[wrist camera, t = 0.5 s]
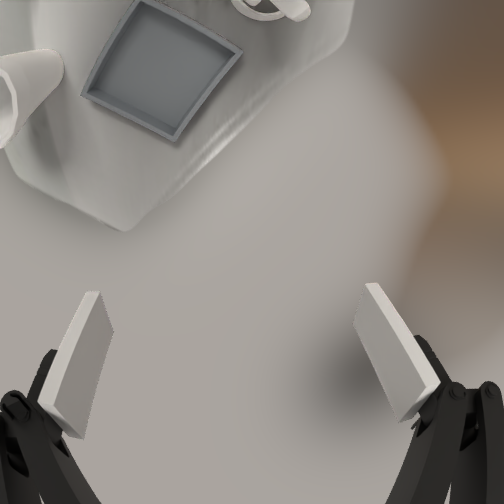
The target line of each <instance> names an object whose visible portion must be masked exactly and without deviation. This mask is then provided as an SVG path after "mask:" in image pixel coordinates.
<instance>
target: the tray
mask: <svg viewBox="0 0 504 504" xmlns="http://www.w3.org/2000/svg"><path fill="white" fill-rule="evenodd" d="M243 53H244V52H243V51H242V49H240V48H239V47H237V46H236V45H234V44H233V43H231V42H230V41H228V40H227V39H225V38H223V37H222V36H220V35H219V34H217V33H215V32H214V31H212V30H210V29H209V28H207V27H205V26H204V25H202V24H200V23H198V22H197V21H195V20H193V19H191V18H189V17H188V16H186V15H184V14H182V13H180V12H178V11H176V10H174V9H172V8H170V7H168V6H166V5H164V4H162V3H160V2H158V1H156V0H134V2H133V3H132V4H131V6H130V7H129V9H128V10H127V12H126V13H125V15H124V16H123V18H122V19H121V21H120V22H119V24H118V25H117V27H116V29H115V30H114V32H113V33H112V35H111V37H110V38H109V40H108V42H107V44H106V45H105V47H104V49H103V51H102V52H101V54H100V56H99V58H98V60H97V62H96V64H95V66H94V67H93V69H92V71H91V73H90V75H89V77H88V79H87V82H86V84H85V86H84V88H83V90H82V92H81V94H80V96H82V97H84V98H86V99H89V100H91V101H93V102H95V103H97V104H99V105H101V106H103V107H106V108H108V109H110V110H112V111H114V112H116V113H118V114H120V115H122V116H124V117H126V118H128V119H130V120H132V121H134V122H136V123H138V124H140V125H142V126H144V127H146V128H148V129H150V130H151V131H153V132H155V133H157V134H159V135H161V136H163V137H165V138H167V139H169V140H170V141H172V142H174V143H175V141H176V140H177V138H178V137H179V135H180V134H181V133H182V131H183V130H184V128H185V127H186V125H187V124H188V123H189V121H190V120H191V118H192V117H193V116H194V114H195V113H196V112H197V110H198V109H199V107H200V106H201V105H202V103H203V102H204V101H205V99H206V98H207V97H208V96H209V94H210V93H211V92H212V90H213V89H214V88H215V87H216V85H217V84H218V83H219V81H220V80H221V79H222V78H223V77H224V75H225V74H226V73H227V72H228V70H229V69H230V68H231V67H232V66H233V64H234V63H235V62H236V61H237V60H238V59H239V57H240V56H241V55H242V54H243Z"/></svg>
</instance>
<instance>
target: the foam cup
mask: <svg viewBox="0 0 504 504" xmlns="http://www.w3.org/2000/svg"><path fill="white" fill-rule="evenodd" d="M63 75H64V63H63V61H62V58H61V56H60V55H59V54H58V53H57V52H55V51H54V50H51V49H39V50H32V51H26V52H20V53H15V54H10V55H5V56H0V149H1V148H3V147H4V146H5V145H6V144H7V143H8V142H9V141H10V140H11V139H12V138H14V137H15V135H16V134H17V133H18V132H19V130H20V129H21V128H22V127H23V125H24V124H25V122H26V120H27V118H28V117H29V116H30V115H31V114H32V113H33V112H34V110H35V109H36V108H37V107H38V106H39V105H40V104H41V103H42V102H43V101H44V100H45V98H46V97H47V96H48V95H49V94H50V93H51V92H52V91H53V90H54V89H55V88H56V87H57V86H58V85H59V84H60V82H61V79H62V77H63Z"/></svg>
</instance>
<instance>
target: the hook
mask: <svg viewBox="0 0 504 504" xmlns="http://www.w3.org/2000/svg"><path fill="white" fill-rule="evenodd" d="M245 1H246V2H247V3H248V4H249V5H252V6H256V5H257V4H258V3H259V2H260V1H262V0H245ZM270 1H271V2H272V3H273V4H274V5H275V6H276V7H277V8H278V9H279V10H280V11H277V12H273V13H262V12H258V11H255V10H253V9H251V8H250V7H248V6H247V5H246V4H245V3H244V2H243V0H231V2H232V3H233V5H234V7H235V8H236V9H237V10H238V11H239V12H240V13H242V14H243V15H245V16H247V17H248V18H251V19H254V20H260V21H271V20H276V19H279V18H282V17H284V16H286V17H288V18H289V19H291V20H293V21H296V22H300V21H303V20H305V19H306V18H308V17H309V16H310V14H311V9H310V6H309V5H308V3H307V2H306V1H305V0H270Z"/></svg>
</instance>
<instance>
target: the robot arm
mask: <svg viewBox="0 0 504 504" xmlns="http://www.w3.org/2000/svg"><path fill="white" fill-rule="evenodd" d="M353 325H354V327H355V329H356V331H357V334H358V335H359V337H360V340H361V342H362V344H363V346H364V348H365V350H366V352H367V354H368V356H369V358H370V361H371V362H372V365H373V367H374V369H375V371H376V374H377V376H378V378H379V380H380V382H381V384H382V387H383V389H384V391H385V393H386V395H387V398H388V400H389V402H390V404H391V407H392V409H393V412H394V414H395V416H396V419H397V421H398V423H399V422H403V421H406V420H409V419H412V418H413V417H414V415H415V414H416V413H417V412H419V414H420V416H421V417H420V418H419V419H418V420H417V421H416V422H415V423H414V424H413V426H412V427H411V429H414V428H415V426H416V429H415V431H414V434H413V437H412V440H411V443H410V446H409V449H408V452H407V455H406V457H405V460H404V462H403V465H402V467H401V470H400V472H399V475H398V477H397V479H396V482H395V484H394V486H393V489H392V491H391V493H390V495H389V497H388V499H387V501H386V503H385V504H444V502H445V499H446V496H447V493H448V490H449V487H450V484H451V492H450V501H449V504H504V406H503V401H502V395H501V391H500V389H499V387H498V386H497V385H496V384H495V383H493V382H490V381H487V382H484V383H483V384H482V385H481V386H480V387H479V389H466V388H465V387H464V386H463V385H462V384H460V383H458V382H452V381H451V379H450V378H449V376H448V374H447V373H446V371H445V369H444V368H443V366H442V364H441V363H440V361H439V360H438V358H436V355H435V353H434V352H433V351H432V349H431V347H430V345H429V344H428V343H427V341H426V340H425V339H423V338H422V337H421V336H420V335H416V336H413V335H412V334H411V332H410V331H409V329H408V328H407V326H406V325H405V323H404V321H403V320H402V318H401V317H400V315H399V314H398V312H397V311H396V309H395V308H394V306H393V305H392V303H391V302H390V300H389V299H388V297H387V296H386V295H385V293H384V292H383V290H382V289H381V287H380V286H379V285H378V283H368V284H364V288H363V291H362V295H361V298H360V302H359V305H358V308H357V311H356V315H355V318H354V321H353ZM113 333H114V331H113V328H112V325H111V323H110V320H109V317H108V314H107V311H106V308H105V305H104V302H103V299H102V296H101V293H100V291H87V292H86V294H85V296H84V298H83V300H82V302H81V303H80V306H79V307H78V309H77V311H76V313H75V315H74V317H73V319H72V321H71V323H70V325H69V327H68V330H67V332H66V334H65V336H64V338H63V340H62V342H61V345H60V347H59V349H58V350H53V349H51V350H50V351H49V352H48V353H47V354H46V355H45V356H44V358H43V360H42V362H41V364H40V368H39V369H38V371H37V375H36V376H35V378H34V381H33V383H32V386H31V388H30V390H29V393H28V396H27V398H26V397H25V396H24V395H23V394H22V393H21V392H19V391H16V390H13V391H9V392H8V393H6V394H5V395H4V396H3V398H2V399H1V402H0V410H1V411H2V412H0V504H42V503H41V499H40V496H41V498H42V500H43V502H44V504H101V503H100V501H99V500H98V498H97V497H96V495H95V494H94V492H93V491H92V489H91V487H90V486H89V484H88V483H87V481H86V479H85V478H84V476H83V474H82V473H81V471H80V469H79V468H78V466H77V464H76V462H75V460H74V458H73V457H72V455H71V453H70V451H69V449H68V447H67V445H66V443H65V441H64V439H63V438H62V437H61V435H62V431H64V432H65V433H66V434H67V435H68V436H70V437H75V438H79V439H84V436H85V432H86V427H87V423H88V419H89V415H90V411H91V407H92V403H93V399H94V395H95V391H96V388H97V384H98V381H99V377H100V374H101V370H102V367H103V364H104V361H105V357H106V354H107V351H108V348H109V345H110V342H111V339H112V336H113ZM39 494H40V495H39Z"/></svg>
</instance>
